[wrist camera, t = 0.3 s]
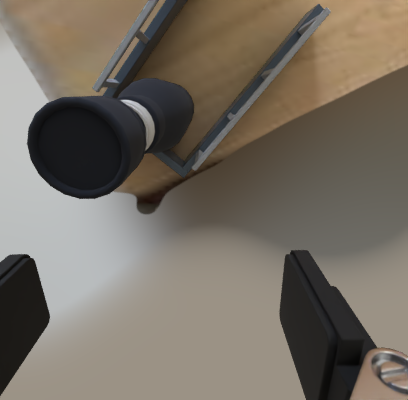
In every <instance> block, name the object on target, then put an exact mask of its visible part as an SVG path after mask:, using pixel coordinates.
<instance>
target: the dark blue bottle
mask: <svg viewBox="0 0 408 400" xmlns="http://www.w3.org/2000/svg"><path fill="white" fill-rule="evenodd" d="M193 113H194V104H193V101H192V98H191V96H190V95H189V93H188V92H187V90H185V89H184V88H183V87H181V86H180V85H177V84H174V83H170V82H167V81H163V80H160V79H156V78H143V79H140V80H138V81H135V82H132V83H131V84H130V85H129V86H128V87H126V88H125V89H124V90H123V91H122V92H121V93H120V94H119V96H118V98H116V99H115V98H112V97H109V96H85V97H62V98H60V99H57V100H54V101H52V102H49V103H47V104H46V105H45V106H44V107H42V108H41V109H40V110H39V111H38V112H37V113H36V114H35V116H34V118H33V120H32V122H31V124H30V126H29V131H28V142H27V145H28V149H29V154H30V158H31V161H32V163H33V164H34V166H35V168H36V170H37V171H38V173H39V175H40V176H41V177H42V178H43V179H44V180H45V181H46V182H47V183H48V184H49V185H50V186H52V187H53V188H55V189H56V190H58V191H60V192H61V193H63V194H65V195H69V196H72V197H76V198H79V199H95V198H98V197H101V196H104V195H107V194H110V193H111V192H112V191H114V190H115V189H116V188H117V187H119V186H120V185H121V184H122V183H123V182H124V181H125V180H126V179H127V177H128V176H129V175H130V174H131V173H132V172H133V171H134V170H135V169H136V168H137V166H138V165H139V163H140V162H141V160H142V159H143V157H144V154H146V153H160V152H163V151H166V150H169V149H171V148H172V147H173V146H175V145H176V144H177V143H179V141H180V140H181V138H182V137H183V135H184V134H185V132H186V130H187V128H188V126H189V124H190V122H191V120H192V117H193Z"/></svg>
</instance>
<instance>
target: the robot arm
mask: <svg viewBox="0 0 408 400" xmlns="http://www.w3.org/2000/svg"><path fill="white" fill-rule="evenodd" d="M49 319H50V314H49V310H48V307H47V303H46V300H45V296H44V292H43V289H42V286H41V281H40V278H39V274H38V271H37V267H36V264H35V261H34V259H32V258H30V256H29V255H27V254H18V255H9V256H7V257H6V258H5V259H4V260H3V261H1V262H0V396H1V394H2V393H3V391H4V390H5V388H6V387H7V385H8V384H9V382H10V381H11V379H12V378H13V376H14V375H15V373H16V372H17V370H18V369H19V367H20V366H21V364H22V363H23V361H24V360H25V358H26V357H27V355H28V353H29V352H30V351H31V349H32V348H33V346H34V345H35V343H36V342H37V340H38V339H39V337H40V336H41V334H42V333H43V331H44V330H45V328H46V327H47V325H48V323H49ZM280 321H281V324H282V327H283V330H284V334H285V337H286V340H287V343H288V345H289V349H290V352H291V355H292V358H293V361H294V364H295V367H296V370H297V373H298V376H299V379H300V382H301V385H302V388H303V392H304V395H305V398H306V400H408V356H407V355H405V354H403V353H402V352H399V351H396V350H393V349H389V348H377V347H376V345H375V344H374V342H373V341H372V339H371V338H370V336H369V335H368V333H367V332H366V330H365V329H364V327H363V326H362V324H361V323H360V321H359V320H358V318H357V317H356V315H355V314H354V312H353V311H352V309H351V308H350V306H349V305H348V303H347V302H346V300H345V299H344V297H343V296H342V294H341V293H340V291H339V290H338V289H337V288H336V287H334V286H330V284H329V283H328V281H327V279H326V278H325V277H324V275H323V273H322V272H321V270H320V269H319V267H318V266H317V264H316V262H315V261H314V259H313V258H312V256H311V255H310V253H309V252H308V251H307V250H295V251H293V250H292V251H291V252H290V254H287V255H286V256H285V263H284V273H283V283H282V293H281V303H280Z"/></svg>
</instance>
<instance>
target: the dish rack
mask: <svg viewBox="0 0 408 400" xmlns="http://www.w3.org/2000/svg"><path fill="white" fill-rule="evenodd" d="M158 1H159V0H149V1H148V2H147V4H146V5H145V7H144V8H143V10H142V12H141V13H140V15H139V16H138V18H137V19H136V21H135V22H134V24H133V26H132V27H131V29H130V30H129V32H128V33H127V35H126V36H125V38H124V39H123V41H122V43H121V44H120V46H119V47H118V49H117V50H116V52H115V53H114V55H113V56H112V58H111V60H110V61H109V63H108V64H107V66H106V67H105V69H104V70H103V72H102V74H101V75H100V77H99V78H98V80H97V81H96V83H95V84H94V86H93V87H92V88H93V89H94V90H95V91H96V92H99V91H100V89H101V88H102V87H108V88H107V90H106V91H105V93H104V94H103V96H109V97H112V98H115V99H116V98H118V96H119V94H120V93H121V92H122V91H123V90H124V89H125V88H126V87H128V86H129V84H130V83H131V82H132V80H133V79H134V77H135V76H136V74H137V73H138V71H139V70H140V68H141V67H142V66H143V64H144V63H145V61H146V60H147V58H148V57H149V55H150V54H151V52H152V51H153V49H154V48H155V47H156V45H157V44H158V42H159V41H160V39H161V38H162V36H163V35H164V33H165V32H166V31H167V29H168V28H169V26H170V25H171V23H172V22H173V20H174V19H175V17H176V16H177V15H178V13H179V12H180V10H181V9H182V7H183V6H184V4H185V3H186V1H187V0H166V1H165V3H164V4H163V6H162V7H161V9H160V10H159V12H158V13H157V15H156V16H155V18H154V19H153V21H152V22H151V24H150V25H149V27H148V28H147V30H146V31H145V33H144V34H143V33H142V32H141V31H140V28H141V27H142V25H143V24H144V22H145V21H146V19H147V18H148V16H149V15H150V13H151V12H152V10H153V9H154V7H155V6H156V4H157V2H158ZM330 12H331V11H330V10H329V9H328V8H325V9H323V8H322V7H321V6H320V4H318V5H316V6H315V7H314V8H313V9H311V10H310V11H309V12H307V13H306V14H305V16H304V17H303V18H302V19H301V20H300V22H299V23H298V24H297V25H296V26H295V28H294V29H293V30H292V31H291V33H290V34H289V35H288V36H287V37H286V39H285V40H284V41H283V42H282V43H281V45H280V46H279V47H278V48H277V50H276V51H275V52H274V53H273V54H272V56H271V57H270V58H269V59H268V60H267V62H266V63H265V64H264V65H263V66H262V68H261V69H260V70H259V71H258V73H257V74H256V75H255V76H254V77H253V79H252V80H251V81H250V82H249V83H248V85H247V86H246V87H245V88H244V90H243V91H242V92H241V93H240V94H239V96H238V97H237V98H236V99H235V100H234V102H233V103H232V104H231V105H230V106H229V108H228V109H227V110H226V111H225V113H224V114H223V115H222V116H221V117H220V119H219V120H218V121H217V122H216V123H215V125H214V126H213V127H212V128H211V129H210V131H209V132H208V133H207V134H206V136H205V137H204V138H203V139H202V140H201V142H200V143H199V144H198V145H197V146H196V148H195V149H194V150H193V151H192V153H191V154H190V155H189V156H188V157H187V159H186V160H185V161H184V160H182V159H181V158H180V157H179V156H177V155H176V154H175V153H174V152H172V151H171V150H170V149H169V150H166V151H163V152H160V153H153V154H154V155H155V156H156V157H158V158H159V159H160V160H162V161H163V162H164V163H165V164H167V165H168V166H169V167H170V168H172V169H173V170H174V171H175V172H177V173H178V174H179V175H181V176H182V177H183V178H184V177H185V176H186V175H187V173H188V172H189V171H190V170H191V169H193V170H194V171H196V170H197V169H198V168H199V166H200V165H201V164H202V163H203V162H204V161H205V159H206V158H207V157H208V156H209V155H210V154H211V152H212V151H213V150H214V149H215V148H216V146H217V145H218V144H219V143H220V142H221V141H222V139H223V138H224V137H225V136H226V135H227V134H228V132H229V131H230V130H231V129H232V128H233V127H234V125H235V124H236V123H237V122H238V121H239V119H240V118H241V117H242V116H243V115H244V114H245V112H246V111H247V110H248V109H249V108H250V107H251V105H252V104H253V103H254V102H255V101H256V99H257V98H258V97H259V96H260V95H261V94H262V92H263V91H264V90H265V89H266V88H267V87H268V85H269V84H270V83H271V82H272V81H273V79H274V78H275V77H276V76H277V75H278V74H279V72H280V71H281V70H282V69H283V68H284V67H285V65H286V64H287V63H288V62H289V61H290V60H291V58H292V57H293V56H294V55H295V54H296V52H297V51H298V50H299V49H300V48H301V47H302V45H303V44H304V43H305V42H306V41H307V40H308V38H309V37H310V36H311V35H312V34H313V32H314V31H315V30H316V29H317V28H318V27H319V25H320V24H321V23H322V22H323V21H324V20H325V18H326V17H327V16H328V15H329V14H330ZM135 36H136V37H137V38H138V39H140V40H139V42H138V43H137V45H136V46H135V48H134V49H133V51H132V52H131V54H130V55H129V57H128V58H127V60H126V61H125V63H124V64H123V66H122V67H121V69H120V70H119V72H118V73H117V75H116V76H115V78H114V79H109V78H108V77H109V76H110V74H111V73H112V71H113V70H114V68H115V66H116V65H117V63H118V62H119V60H120V59H121V57H122V56H123V54H124V53H125V51H126V50H127V48H128V47H129V45H130V44H131V42H132V41H133V39H134V38H135Z"/></svg>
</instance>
